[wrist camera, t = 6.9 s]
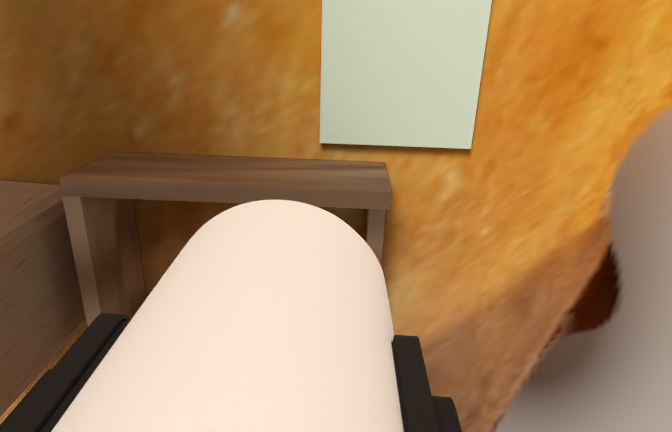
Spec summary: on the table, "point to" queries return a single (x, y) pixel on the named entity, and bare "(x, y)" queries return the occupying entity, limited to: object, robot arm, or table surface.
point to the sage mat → (401, 71)
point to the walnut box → (196, 186)
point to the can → (254, 335)
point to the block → (34, 284)
